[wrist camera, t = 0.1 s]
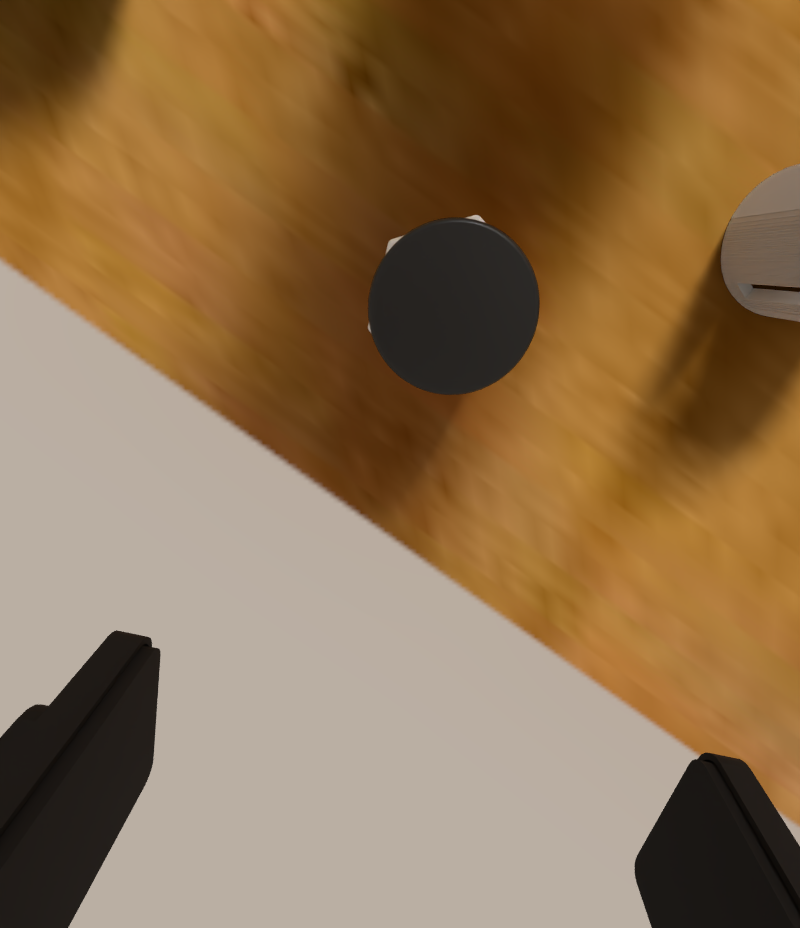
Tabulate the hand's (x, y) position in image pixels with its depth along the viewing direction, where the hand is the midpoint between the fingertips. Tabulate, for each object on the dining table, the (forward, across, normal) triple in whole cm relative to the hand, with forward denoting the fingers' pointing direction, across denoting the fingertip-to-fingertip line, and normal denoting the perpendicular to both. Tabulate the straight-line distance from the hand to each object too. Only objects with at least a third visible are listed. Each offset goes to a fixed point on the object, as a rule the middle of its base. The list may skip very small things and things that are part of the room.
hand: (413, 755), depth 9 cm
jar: (+31, 0, -6) cm, 32 cm away
